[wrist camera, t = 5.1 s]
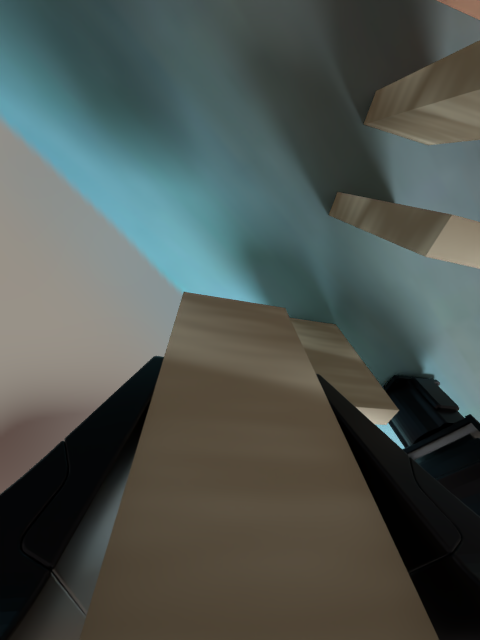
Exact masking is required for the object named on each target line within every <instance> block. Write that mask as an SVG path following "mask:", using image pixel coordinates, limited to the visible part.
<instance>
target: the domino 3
mask: <svg viewBox="0 0 480 640" xmlns="http://www.w3.org/2000/svg"><path fill="white" fill-rule="evenodd" d="M364 125H367V126H370V127H373V128H376V129H379V130H383V131H386V132H389V133H392V134H395V135H398V136H401V137H404V138H407V139H411V140H414V141H417V142H420V143H423V144H426V145H435V144H444V143H453V142H462V141H471V140H480V41H477V42H475V43H473V44H471V45H469V46H467V47H465V48H463V49H461V50H459V51H457V52H455V53H453V54H451V55H449V56H447V57H445V58H443V59H441V60H439V61H437V62H435V63H432V64H430V65H428V66H426V67H424V68H422V69H420V70H418V71H416V72H414V73H412V74H410V75H408V76H406V77H404V78H402V79H400V80H398V81H396V82H394V83H392V84H390V85H387V86H385V87H383V88H381V89H379V90H377V91H376V93H375V95H374V98H373V101H372V103H371V106H370V108H369V111H368V114H367V116H366V119H365V122H364Z"/></svg>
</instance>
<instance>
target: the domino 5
mask: <svg viewBox="0 0 480 640" xmlns="http://www.w3.org/2000/svg"><path fill="white" fill-rule="evenodd" d="M437 1H439V2H441V3H443V4H446V5H448V6H450V7H452V8H454V9H457V10H459V11H461V12H463V13H465V14H468V15H470V16H472V17H474V18H476V19H479V20H480V0H437Z"/></svg>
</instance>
